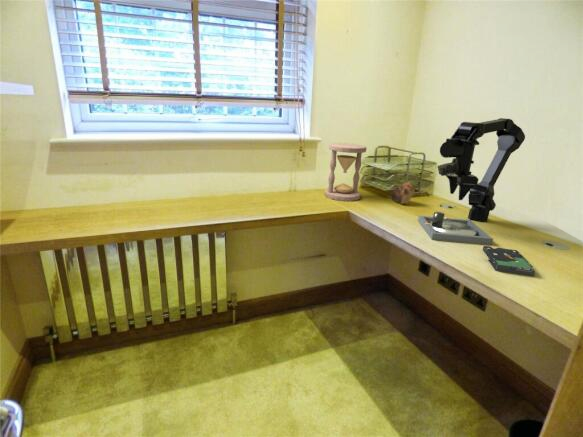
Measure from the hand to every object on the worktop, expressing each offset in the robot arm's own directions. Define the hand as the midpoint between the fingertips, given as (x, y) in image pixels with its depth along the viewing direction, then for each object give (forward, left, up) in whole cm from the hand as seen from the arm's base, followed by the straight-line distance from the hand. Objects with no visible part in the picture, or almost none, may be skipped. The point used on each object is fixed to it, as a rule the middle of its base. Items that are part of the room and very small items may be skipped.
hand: (455, 196), depth 135 cm
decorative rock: (+14, -29, -12) cm, 34 cm away
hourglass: (+42, -31, -12) cm, 54 cm away
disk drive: (-6, +34, -13) cm, 36 cm away
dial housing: (+3, +11, -12) cm, 16 cm away
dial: (+3, +11, -11) cm, 16 cm away
